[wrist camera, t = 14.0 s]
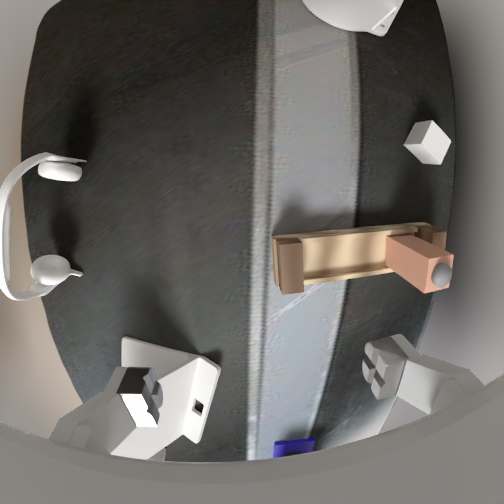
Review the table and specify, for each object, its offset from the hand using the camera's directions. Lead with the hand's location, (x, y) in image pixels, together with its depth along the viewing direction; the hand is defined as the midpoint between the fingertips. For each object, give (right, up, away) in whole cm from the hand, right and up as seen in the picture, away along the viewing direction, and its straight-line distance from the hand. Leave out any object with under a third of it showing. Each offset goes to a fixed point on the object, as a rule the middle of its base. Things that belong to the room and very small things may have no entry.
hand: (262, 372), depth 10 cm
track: (+16, +5, +32) cm, 36 cm away
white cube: (+27, +23, +28) cm, 45 cm away
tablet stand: (-18, -24, +39) cm, 49 cm away
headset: (-29, +10, +28) cm, 42 cm away
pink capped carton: (+23, +5, +30) cm, 38 cm away
